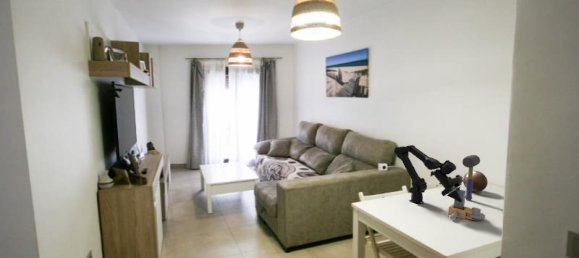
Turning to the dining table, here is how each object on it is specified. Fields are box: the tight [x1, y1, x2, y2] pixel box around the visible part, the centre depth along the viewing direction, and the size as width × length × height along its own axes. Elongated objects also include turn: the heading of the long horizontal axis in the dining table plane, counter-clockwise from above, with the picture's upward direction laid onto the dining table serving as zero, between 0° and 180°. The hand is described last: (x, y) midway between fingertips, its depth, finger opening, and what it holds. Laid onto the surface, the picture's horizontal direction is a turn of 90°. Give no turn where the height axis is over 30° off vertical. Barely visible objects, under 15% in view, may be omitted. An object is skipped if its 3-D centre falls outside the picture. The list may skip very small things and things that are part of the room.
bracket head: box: [447, 203, 486, 222], centre depth 171 cm, size 17×16×6 cm
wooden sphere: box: [462, 170, 489, 193], centre depth 219 cm, size 15×15×15 cm
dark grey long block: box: [453, 189, 466, 210], centre depth 176 cm, size 4×4×12 cm
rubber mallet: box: [462, 154, 481, 201], centre depth 200 cm, size 12×8×30 cm, turn 130°
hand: (462, 201), depth 175 cm, fingers closed on dark grey long block, 3 cm apart
